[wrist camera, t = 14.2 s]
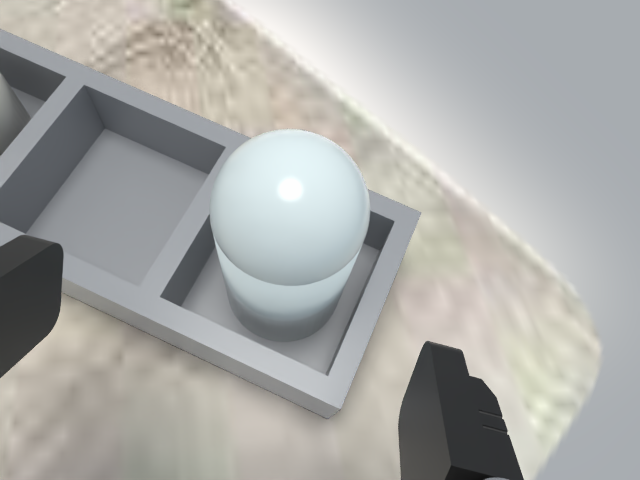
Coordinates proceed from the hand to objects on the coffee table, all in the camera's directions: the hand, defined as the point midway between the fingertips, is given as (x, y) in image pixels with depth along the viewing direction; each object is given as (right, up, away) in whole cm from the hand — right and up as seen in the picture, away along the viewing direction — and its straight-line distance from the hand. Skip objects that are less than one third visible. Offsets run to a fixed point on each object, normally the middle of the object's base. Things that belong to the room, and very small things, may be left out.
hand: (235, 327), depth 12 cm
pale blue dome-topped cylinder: (0, 0, +10) cm, 10 cm away
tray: (-6, +3, +12) cm, 14 cm away
